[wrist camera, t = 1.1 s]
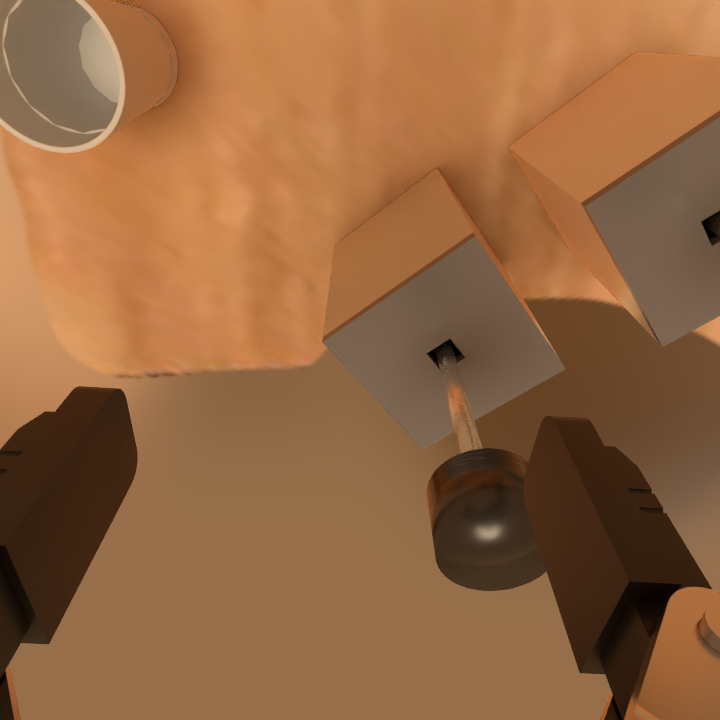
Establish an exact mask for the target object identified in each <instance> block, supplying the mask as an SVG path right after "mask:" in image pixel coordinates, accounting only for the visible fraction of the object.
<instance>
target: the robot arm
mask: <svg viewBox="0 0 720 720" xmlns="http://www.w3.org/2000/svg"><path fill="white" fill-rule="evenodd" d="M136 468H137V447H136V443H135V438H134V433H133V428H132V424H131V419H130V414H129V409H128V405H127V400H126V396H125V394H124V392H123V391H122V390H121V389H115V388H98V387H82V386H79V387H76V388H75V389H73V390H72V392H71V393H70V394H69V395H68V397H67V398H66V399H65V400H64V401H63V403H62V404H61V405H60V406H59V408H58V409H57V410H56V412H44V413H42V414H41V415H39V416H38V417H36V418H34V419H33V420H31V421H30V422H28V423H27V424H25V425H24V426H22V427H21V428H19V429H18V430H17V431H16V432H15V433H14V434H13V436H12V437H11V438H10V439H9V440H8V441H7V442H6V444H5V445H4V446H3V447H2V448H1V449H0V720H21V717H20V712H19V707H18V701H17V696H16V691H15V686H14V681H13V676H12V671H11V668H10V666H9V663H10V661H11V659H12V657H13V656H14V654H15V652H16V650H17V649H18V647H19V645H20V643H34V644H35V643H36V644H49V643H50V641H51V639H52V637H53V635H54V633H55V631H56V629H57V627H58V626H59V624H60V621H61V619H62V617H63V616H64V614H65V612H66V610H67V608H68V606H69V604H70V602H71V600H72V598H73V596H74V594H75V593H76V591H77V589H78V587H79V585H80V582H81V581H82V579H83V577H84V575H85V573H86V571H87V569H88V567H89V565H90V563H91V561H92V559H93V557H94V556H95V554H96V551H97V550H98V548H99V546H100V544H101V542H102V540H103V538H104V536H105V534H106V532H107V530H108V528H109V527H110V525H111V523H112V521H113V519H114V517H115V515H116V513H117V511H118V509H119V507H120V505H121V503H122V501H123V499H124V497H125V496H126V494H127V492H128V490H129V488H130V486H131V484H132V481H133V479H134V476H135V473H136ZM523 492H524V501H525V506H526V509H527V512H528V515H529V518H530V521H531V525H532V528H533V531H534V534H535V537H536V540H537V543H538V546H539V549H540V552H541V555H542V558H543V561H544V565H545V568H546V571H547V574H548V577H549V580H550V583H551V586H552V589H553V592H554V595H555V598H556V601H557V604H558V607H559V611H560V614H561V617H562V620H563V623H564V626H565V629H566V632H567V635H568V638H569V641H570V644H571V648H572V651H573V653H574V657H575V660H576V663H577V666H578V669H579V672H580V673H591V674H606V677H607V680H608V683H609V685H610V688H611V691H612V692H611V694H610V695H609V697H608V699H607V701H606V704H605V706H604V709H603V712H602V715H601V717H600V720H720V592H718V591H715V590H713V589H712V588H711V586H710V585H709V583H708V581H707V580H706V578H705V577H704V575H703V573H702V571H701V570H700V568H699V567H698V565H697V563H696V562H695V560H694V558H693V557H692V555H691V553H690V552H689V550H688V549H687V547H686V545H685V544H684V542H683V540H682V539H681V537H680V535H679V534H678V532H677V530H676V529H675V527H674V525H673V524H672V522H671V521H670V519H669V517H668V516H667V514H666V513H663V507H662V506H661V504H660V502H659V501H658V499H657V497H656V496H655V494H652V493H651V488H650V486H649V484H648V483H647V481H646V479H645V478H644V477H643V474H642V473H641V471H640V470H639V468H638V467H637V466H636V465H635V464H634V463H633V462H632V461H631V460H630V459H628V458H627V457H626V456H625V455H624V454H623V453H622V452H621V451H619V450H618V449H617V448H616V447H610V446H604V444H603V442H602V440H601V439H600V437H599V435H598V433H597V432H596V430H595V428H594V426H593V424H592V423H591V421H590V420H588V419H586V418H573V417H556V416H546V417H545V418H544V419H543V421H542V423H541V425H540V428H539V431H538V434H537V438H536V441H535V444H534V447H533V450H532V453H531V457H530V460H529V463H528V466H527V469H526V472H525V477H524V486H523Z"/></svg>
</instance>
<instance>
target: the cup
mask: <svg viewBox="0 0 720 720" xmlns="http://www.w3.org/2000/svg"><path fill="white" fill-rule="evenodd" d="M177 77H178V59H177V54H176V50H175V47H174V44H173V42H172V40H171V38H170V36H169V34H168V33H167V31H166V30H165V28H164V27H163V26H162V25H161V23H160V22H159V21H158V20H157V19H156V18H155V17H153V16H152V15H151V14H149V13H148V12H146V11H145V10H143V9H141V8H139V7H136V6H133V5H129V4H122V3H116V2H113V1H110V0H0V125H1V126H3V127H4V128H5V129H6V130H8V131H9V132H10V133H11V134H13V135H14V136H16V137H17V138H19V139H21V140H22V141H24V142H26V143H28V144H30V145H32V146H35V147H37V148H40V149H43V150H47V151H51V152H57V153H76V152H81V151H85V150H88V149H90V148H93V147H95V146H97V145H98V144H100V143H101V142H103V141H104V140H105V139H107V138H108V137H110V136H111V135H112V134H114V133H115V132H116V131H118V130H119V129H121V128H122V127H123V126H125V125H126V124H128V123H129V122H131V121H132V120H134V119H135V118H137V117H138V116H140V115H141V114H143V113H144V112H146V111H147V110H149V109H150V108H153V107H156V106H158V105H160V104H161V103H163V102H164V101H165V100H166V99H167V98H168V97H169V96H170V95H171V93H172V91H173V90H174V87H175V85H176V82H177Z"/></svg>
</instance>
